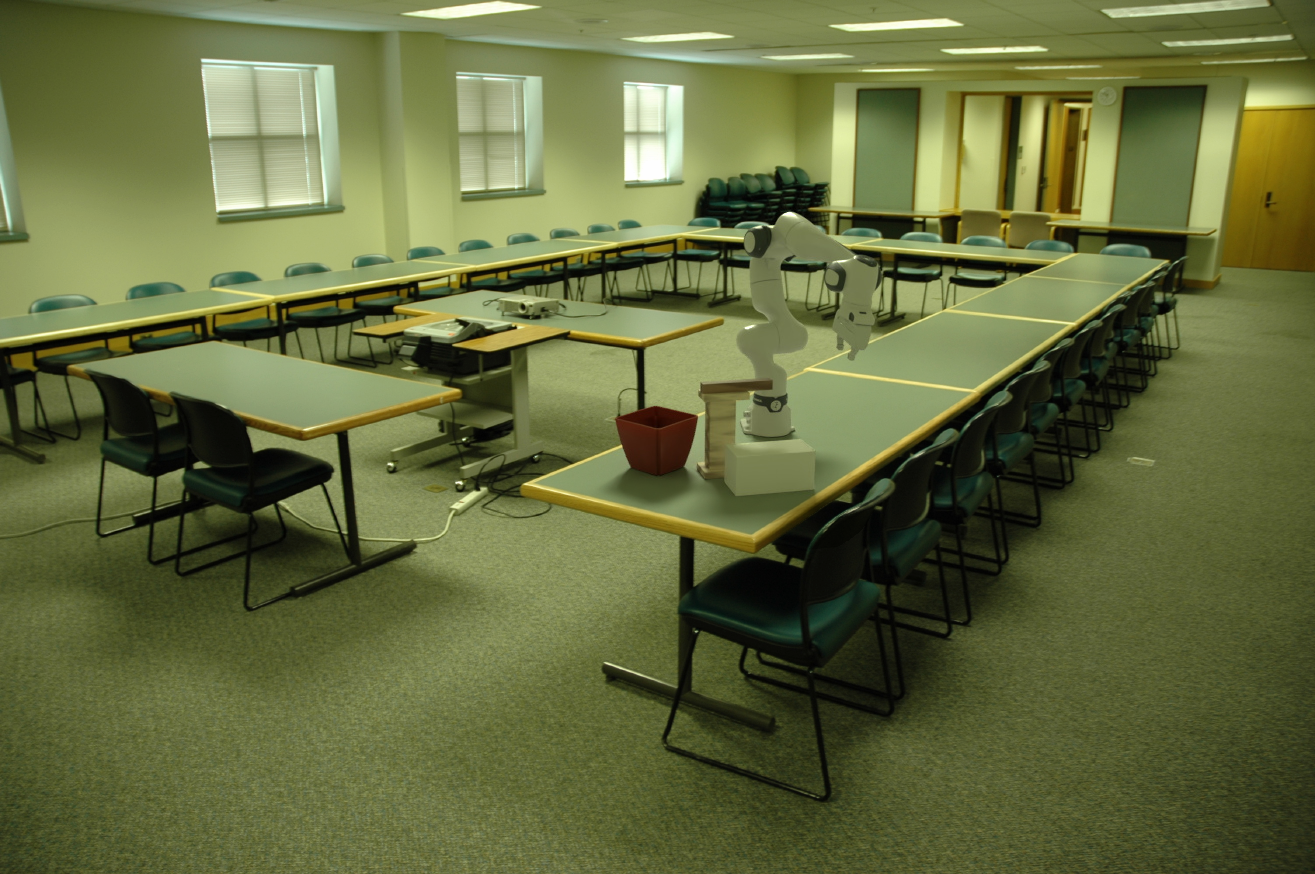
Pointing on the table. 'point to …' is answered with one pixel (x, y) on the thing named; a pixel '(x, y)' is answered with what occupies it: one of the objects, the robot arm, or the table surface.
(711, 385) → the walnut bar
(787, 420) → the robot arm
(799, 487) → the white rectangular block
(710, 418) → the wooden i-beam pillar
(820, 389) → the table surface
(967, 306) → the table surface
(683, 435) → the plant pot
